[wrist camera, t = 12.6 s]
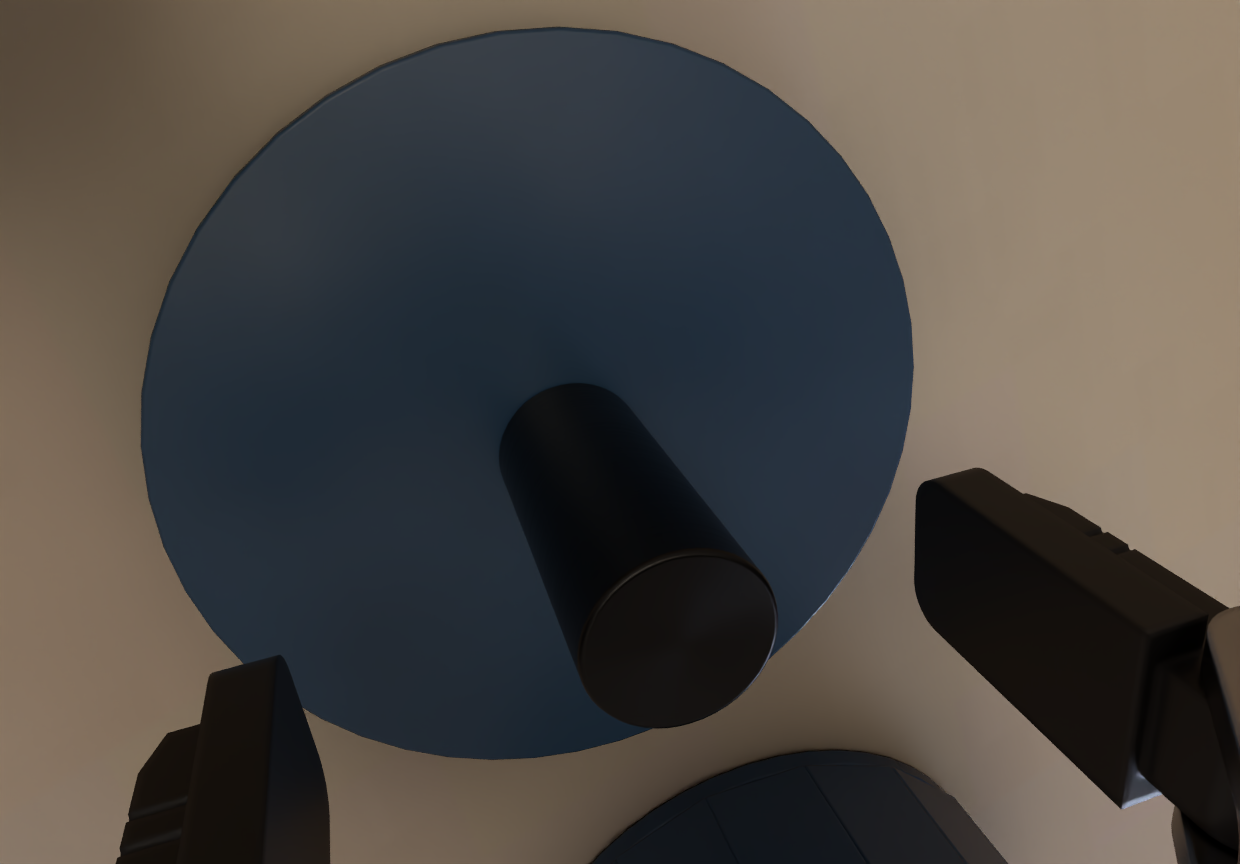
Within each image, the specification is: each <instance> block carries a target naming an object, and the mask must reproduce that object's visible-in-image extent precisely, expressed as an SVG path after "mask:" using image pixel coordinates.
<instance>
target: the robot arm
mask: <svg viewBox="0 0 1240 864" xmlns="http://www.w3.org/2000/svg"><path fill="white" fill-rule="evenodd" d="M914 585H915V592H916V596H917V599H918V602H919V605H920V608H921V610H922V612H923V614H924V616H925V618H926V619H927V621H928V622H929V624H930V625H931V626H932V627H933V628H934V630H935V631H936V632H937V633H939V634H940V635H941V636H942V637H943V638H944V639H945V640H946V641H947V642H948V643H949V644H950V645H951V646H952V647H953V648H954V649H955V650H956V651H957V652H958V653H959V654H960V655H961V656H962V657H963V658H965V659H966V660H967V661H968V662H969V663H970V664H971V665H972V666H973V667H974V668H975V669H976V670H977V671H978V672H979V673H980V674H981V675H982V676H983V677H984V678H985V679H986V680H987V681H988V682H989V683H990V684H992V685H993V686H994V687H995V688H996V689H997V690H998V691H999V692H1000V693H1001V694H1002V695H1003V696H1004V697H1005V698H1006V699H1007V700H1008V701H1009V702H1010V703H1011V704H1012V705H1013V706H1014V707H1015V708H1016V709H1018V710H1019V711H1020V712H1021V713H1022V714H1023V715H1024V716H1025V717H1026V718H1027V719H1028V720H1029V721H1030V722H1031V723H1032V724H1033V725H1034V726H1035V727H1036V728H1037V729H1038V730H1039V731H1040V732H1041V733H1042V734H1043V735H1045V736H1046V737H1047V738H1048V739H1049V740H1050V741H1051V742H1052V743H1053V744H1054V745H1055V746H1056V747H1057V748H1058V749H1059V750H1060V751H1061V752H1062V753H1063V754H1064V755H1065V756H1066V757H1067V758H1068V759H1069V760H1070V761H1072V762H1073V763H1074V764H1075V765H1076V766H1077V767H1078V768H1079V769H1080V770H1081V771H1082V772H1083V773H1084V774H1085V775H1086V776H1087V777H1088V778H1089V779H1090V780H1091V781H1092V782H1093V783H1094V784H1095V785H1096V786H1098V787H1099V788H1100V789H1101V790H1102V791H1103V792H1104V793H1105V794H1106V795H1107V796H1108V797H1109V798H1110V799H1111V800H1112V801H1113V802H1114V803H1115V804H1116V805H1117V806H1118V807H1119V808H1120V809H1124V808H1126V807H1129V806H1132V805H1134V804H1137V803H1140V802H1142V801H1145V800H1148V799H1150V798H1153V797H1156V796H1158V795H1161V794H1163V795H1164V796H1165V797H1166V798H1167V799H1168V800H1170V801H1171V802H1172V803H1173V804H1174V805H1175V806H1174V812H1173V817H1172V822H1171V829H1172V837H1173V842H1174V847H1175V852H1176V858H1177V863H1178V864H1240V606H1237V607H1233V608H1228V607H1226V606H1225V605H1223V604H1222V603H1220V602H1218V601H1217V600H1215V599H1214V598H1212V597H1210V596H1209V595H1207V594H1206V593H1204V592H1202V591H1201V590H1199V589H1198V588H1196V587H1195V586H1193V585H1191V584H1190V583H1188V582H1187V581H1185V580H1183V579H1182V578H1180V577H1179V576H1177V575H1175V574H1174V573H1172V572H1171V571H1169V570H1167V569H1166V568H1164V567H1163V566H1161V565H1159V564H1158V563H1156V562H1155V561H1153V560H1151V559H1150V558H1148V557H1147V556H1145V555H1143V554H1142V553H1140V552H1139V551H1137V550H1136V549H1134V550H1130V549H1129V547H1128V544H1126V543H1124V542H1123V541H1121V540H1120V539H1118V538H1116V537H1115V536H1113V535H1112V534H1110V533H1108V532H1106V533H1103V532H1102V531H1101V528H1100V527H1099V526H1097V525H1096V524H1094V523H1092V522H1091V521H1089V520H1088V519H1086V518H1084V517H1083V516H1081V515H1080V514H1078V513H1077V512H1075V511H1073V510H1072V509H1070V508H1069V507H1066V506H1063V505H1060V504H1057V503H1054V502H1051V501H1048V500H1045V499H1042V498H1039V497H1036V496H1033V495H1030V494H1027V493H1025V494H1022V493H1021V492H1019V491H1018V490H1016V489H1015V488H1013V487H1011V486H1010V485H1008V484H1007V483H1005V482H1004V481H1002V480H1001V479H999V478H998V477H996V476H995V475H993V474H991V473H990V472H988V471H987V470H985V469H982V468H972V469H969V470H965V471H961V472H958V473H954V474H950V475H947V476H943V477H939V478H936V479H932V480H928V481H925V482H923V483H922V484H921V485H920V487H919V488H918V491H917V495H916V512H915V566H914ZM128 816H129V822H127V823H126V825H125V829H124V833H123V837H122V841H121V845H120V852H121V857H118V858H117V861H116V864H330V815H329V801H328V794H327V787H326V782H325V777H324V772H323V768H322V764H321V761H320V757H319V754H318V751H317V748H316V746H315V743H314V740H313V737H312V734H311V731H310V728H309V725H308V722H307V719H306V717H305V714H304V711H303V708H302V705H301V702H300V699H299V696H298V693H297V691H296V688H295V685H294V682H293V679H292V676H291V673H290V670H289V668H288V665H287V663H286V661H285V659H284V658H283V656H282V655H276V656H272V657H269V658H265V659H261V660H258V661H254V662H250V663H247V664H243V665H239V666H236V667H232V668H228V669H224V670H221V671H217V672H213V673H211V674H210V676H209V678H208V683H207V688H206V694H205V700H204V706H203V711H202V717H201V723H200V724H198V725H195V726H191V727H188V728H184V729H181V730H177V731H174V732H170V733H167V734H166V736H165V737H164V739H163V740H162V741H161V743H160V744H159V745H158V747H157V748H156V750H155V751H154V752H153V754H152V755H151V757H150V758H149V759H148V761H147V762H146V763H145V765H144V766H143V768H142V769H141V770H140V772H139V773H138V776H137V780H136V784H135V788H134V792H133V796H132V800H131V804H130V808H129V813H128Z"/></svg>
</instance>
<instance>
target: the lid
mask: <svg viewBox="0 0 1240 864" xmlns="http://www.w3.org/2000/svg"><path fill="white" fill-rule="evenodd" d="M913 369H914V364H913V345H912V326H911V319H910V314H909V308H908V303H907V297H906V292H905V287H904V281H903V278H902V275H901V272H900V269H899V266H898V263H897V260H896V257H895V254H894V251H893V248H892V245H891V242H890V239H889V236H888V234H887V232H886V230H885V228H884V226H883V224H882V222H881V220H880V218H879V216H878V214H877V212H876V210H875V208H874V206H873V204H872V202H871V200H870V198H869V196H868V194H867V193H866V191H865V190H864V188H863V187H862V185H861V184H860V183H859V181H858V180H857V178H856V177H855V175H854V174H853V172H852V171H851V169H850V168H849V167H848V165H847V164H846V162H845V161H844V159H843V158H842V156H841V155H840V154H839V153H838V152H837V151H836V150H835V149H834V148H833V147H832V146H831V145H830V144H829V142H828V141H827V140H826V139H825V138H824V137H823V136H822V135H821V134H820V133H819V132H818V131H817V130H816V129H815V127H814V126H813V125H812V124H811V123H810V122H809V121H808V120H807V119H805V118H804V117H803V116H802V115H800V114H799V113H798V112H797V111H795V110H794V109H793V108H792V107H790V106H789V105H788V104H786V103H785V102H784V101H783V100H781V99H780V98H779V97H778V96H776V95H775V94H774V93H773V92H771V91H770V90H769V89H767V88H765V87H764V86H762V85H760V84H758V83H757V82H755V81H753V80H752V79H750V78H748V77H746V76H745V75H743V74H741V73H739V72H738V71H736V70H734V69H732V68H731V67H729V66H727V65H725V64H724V63H721V62H719V61H716V60H714V59H711V58H708V57H706V56H703V55H701V54H698V53H696V52H693V51H690V50H688V49H685V48H683V47H680V46H678V45H675V44H672V43H668V42H663V41H659V40H655V39H650V38H646V37H641V36H637V35H633V34H628V33H624V32H619V31H609V30H596V29H582V28H569V27H547V28H533V29H519V30H505V31H494V32H489V33H485V34H480V35H476V36H471V37H467V38H462V39H457V40H453V41H448V42H444V43H439V44H436V45H433V46H430V47H428V48H425V49H422V50H420V51H417V52H414V53H412V54H409V55H406V56H404V57H401V58H398V59H396V60H393V61H390V62H388V63H385V64H383V65H380V66H378V67H376V68H374V69H373V70H371V71H369V72H367V73H365V74H364V75H362V76H360V77H358V78H356V79H355V80H353V81H351V82H349V83H347V84H345V85H344V86H342V87H340V88H338V89H336V90H335V91H333V92H331V93H329V94H327V95H326V96H324V97H323V98H322V99H321V100H319V101H318V102H317V103H315V104H314V105H313V106H311V107H310V108H309V109H307V110H306V111H305V112H303V113H302V114H301V115H299V116H298V117H297V118H296V119H294V120H293V121H292V122H290V123H289V124H288V125H286V126H285V127H284V128H282V129H281V130H280V131H278V132H277V133H276V134H275V135H274V136H273V137H272V138H271V139H270V140H269V141H268V142H267V143H266V144H265V145H264V147H263V148H262V149H261V150H260V151H259V152H258V153H257V154H256V155H255V156H254V157H253V158H252V159H251V160H250V161H249V162H248V163H247V164H246V165H245V166H244V167H243V168H242V169H241V170H240V171H239V172H238V173H237V174H236V175H235V176H234V178H233V179H232V181H231V182H230V183H229V185H228V186H227V187H226V189H225V190H224V192H223V193H222V194H221V196H220V197H219V198H218V200H217V201H216V203H215V204H214V205H213V207H212V208H211V210H210V211H209V212H208V214H207V215H206V216H205V218H204V219H203V221H202V222H201V223H200V225H199V226H198V228H197V229H196V231H195V233H194V235H193V237H192V239H191V241H190V243H189V245H188V247H187V248H186V250H185V252H184V254H183V256H182V258H181V260H180V262H179V264H178V266H177V268H176V270H175V272H174V274H173V276H172V278H171V279H170V281H169V284H168V287H167V290H166V293H165V296H164V299H163V302H162V305H161V308H160V311H159V314H158V317H157V320H156V323H155V326H154V329H153V332H152V335H151V339H150V345H149V351H148V357H147V363H146V368H145V374H144V380H143V386H142V392H141V451H142V458H143V464H144V471H145V478H146V485H147V492H148V498H149V502H150V505H151V508H152V511H153V514H154V518H155V521H156V524H157V527H158V530H159V534H160V537H161V540H162V543H163V547H164V549H165V551H166V553H167V555H168V557H169V559H170V561H171V563H172V565H173V567H174V569H175V571H176V573H177V575H178V577H179V579H180V581H181V583H182V585H183V587H184V589H185V591H186V593H187V594H188V596H189V597H190V598H191V600H192V601H193V603H194V604H195V606H196V607H197V609H198V610H199V611H200V613H201V614H202V616H203V617H204V619H205V620H206V622H207V623H208V624H209V626H210V627H211V629H212V630H213V632H214V633H215V634H216V635H217V636H218V637H219V638H220V639H221V640H222V641H223V642H224V643H225V644H226V645H227V647H228V648H229V649H230V650H231V651H232V652H233V653H234V654H235V655H236V656H237V657H238V658H239V659H240V660H241V661H242V663H243V664H247V663H250V662H254V661H258V660H261V659H265V658H269V657H272V656H276V655H282V656H283V658H284V659H285V661H286V663H287V665H288V668H289V670H290V673H291V676H292V679H293V682H294V685H295V688H296V691H297V693H298V696H299V699H300V702H301V705H302V707H303V708H304V709H306V710H308V711H309V712H311V713H313V714H314V715H316V716H318V717H319V718H321V719H323V720H325V721H328V722H330V723H332V724H335V725H337V726H339V727H341V728H344V729H346V730H348V731H350V732H353V733H355V734H357V735H360V736H362V737H365V738H368V739H372V740H375V741H378V742H382V743H385V744H388V745H392V746H395V747H398V748H402V749H405V750H411V751H417V752H422V753H428V754H434V755H439V756H445V757H455V758H471V759H487V760H498V759H520V758H537V757H544V756H551V755H557V754H564V753H571V752H577V751H581V750H585V749H589V748H593V747H597V746H601V745H605V744H609V743H612V742H616V741H620V740H623V739H625V738H628V737H631V736H634V735H636V734H639V733H642V732H645V731H647V730H650V729H653V728H671V727H678V726H682V725H686V724H690V723H693V722H696V721H699V720H701V719H704V718H706V717H708V716H710V715H712V714H714V713H716V712H718V711H720V710H721V709H723V708H724V707H726V706H728V705H729V704H730V703H732V702H733V701H734V700H736V699H737V698H738V697H739V696H740V695H741V694H742V693H743V692H745V691H746V690H747V689H748V687H749V686H750V685H751V684H752V683H753V682H754V681H755V679H756V678H757V677H758V675H759V674H760V673H761V671H762V670H763V668H764V666H765V664H766V663H767V661H768V660H769V659H770V658H771V657H772V656H773V655H774V654H775V653H776V652H777V651H778V650H780V649H781V648H782V647H783V646H784V645H785V644H786V643H787V642H788V641H789V640H790V639H792V638H793V637H794V636H795V635H796V634H797V633H798V632H799V631H800V630H801V629H802V628H803V627H804V625H805V624H806V623H807V622H808V621H809V620H810V619H811V618H812V617H813V615H814V614H815V613H816V612H817V611H818V610H819V609H820V608H821V606H822V605H823V604H824V603H825V602H826V601H827V600H828V598H829V597H830V595H831V594H832V593H833V591H834V590H835V589H836V587H837V586H838V584H839V583H840V582H841V580H842V579H843V578H844V576H845V575H846V573H847V572H848V571H849V569H850V568H851V567H852V565H853V563H854V561H855V560H856V558H857V556H858V555H859V553H860V551H861V549H862V548H863V546H864V544H865V542H866V541H867V539H868V537H869V536H870V534H871V532H872V530H873V528H874V526H875V524H876V521H877V519H878V517H879V515H880V512H881V510H882V508H883V506H884V503H885V501H886V499H887V497H888V494H889V492H890V489H891V486H892V483H893V480H894V477H895V473H896V470H897V467H898V464H899V461H900V458H901V454H902V451H903V446H904V441H905V436H906V431H907V426H908V420H909V415H910V410H911V397H912V383H913Z"/></svg>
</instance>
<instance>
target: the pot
mask: <svg viewBox="0 0 1240 864" xmlns="http://www.w3.org/2000/svg"><path fill="white" fill-rule="evenodd" d="M592 864H1008V863H1007V862H1006V861H1005V859H1004V858H1003V857H1002V856H1001V854H1000V853H999V852H998V851H997V850H996V848H995V847H994V846H993V845H992V843H991V842H990V841H989V840H988V838H987V837H986V836H985V835H984V834H983V832H982V831H981V830H980V829H979V827H978V826H977V825H976V824H975V823H974V821H973V820H972V819H971V818H970V816H969V815H968V814H967V813H966V812H965V810H964V809H963V808H962V807H961V805H960V804H959V803H958V802H957V801H956V799H955V798H954V797H952V796H951V795H949V794H947V793H945V792H944V791H943V790H942V789H941V788H940V787H939V786H938V785H937V784H936V783H935V782H934V781H933V780H931V779H930V778H929V777H927V776H926V775H924V774H922V773H921V772H919V771H918V770H916V769H914V768H913V767H911V766H909V765H906V764H904V763H901V762H899V761H896V760H893V759H891V758H888V757H884V756H879V755H875V754H870V753H866V752H856V751H843V750H828V751H808V752H802V753H795V754H789V755H783V756H777V757H773V758H770V759H766V760H762V761H759V762H755V763H751V764H747V765H744V766H742V767H739V768H736V769H734V770H731V771H729V772H726V773H723V774H721V775H718V776H715V777H713V778H711V779H709V780H707V781H705V782H703V783H701V784H699V785H697V786H695V787H693V788H691V789H689V790H687V791H685V792H683V793H681V794H679V795H678V796H676V797H674V798H673V799H671V800H670V801H668V802H666V803H665V804H663V805H661V806H660V807H658V808H656V809H655V810H653V811H652V812H650V813H649V814H648V815H646V816H645V817H644V818H642V819H641V820H640V821H638V822H637V823H636V824H634V825H633V826H632V827H630V828H629V829H628V830H626V831H625V832H624V833H623V834H622V835H621V836H620V837H619V838H617V839H616V840H615V841H614V842H613V843H612V844H611V845H610V846H609V847H608V848H606V849H605V850H604V851H603V852H602V853H601V854H600V855H599V856H598V857H597V858H596V859H595V861H594V862H593V863H592Z"/></svg>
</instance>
